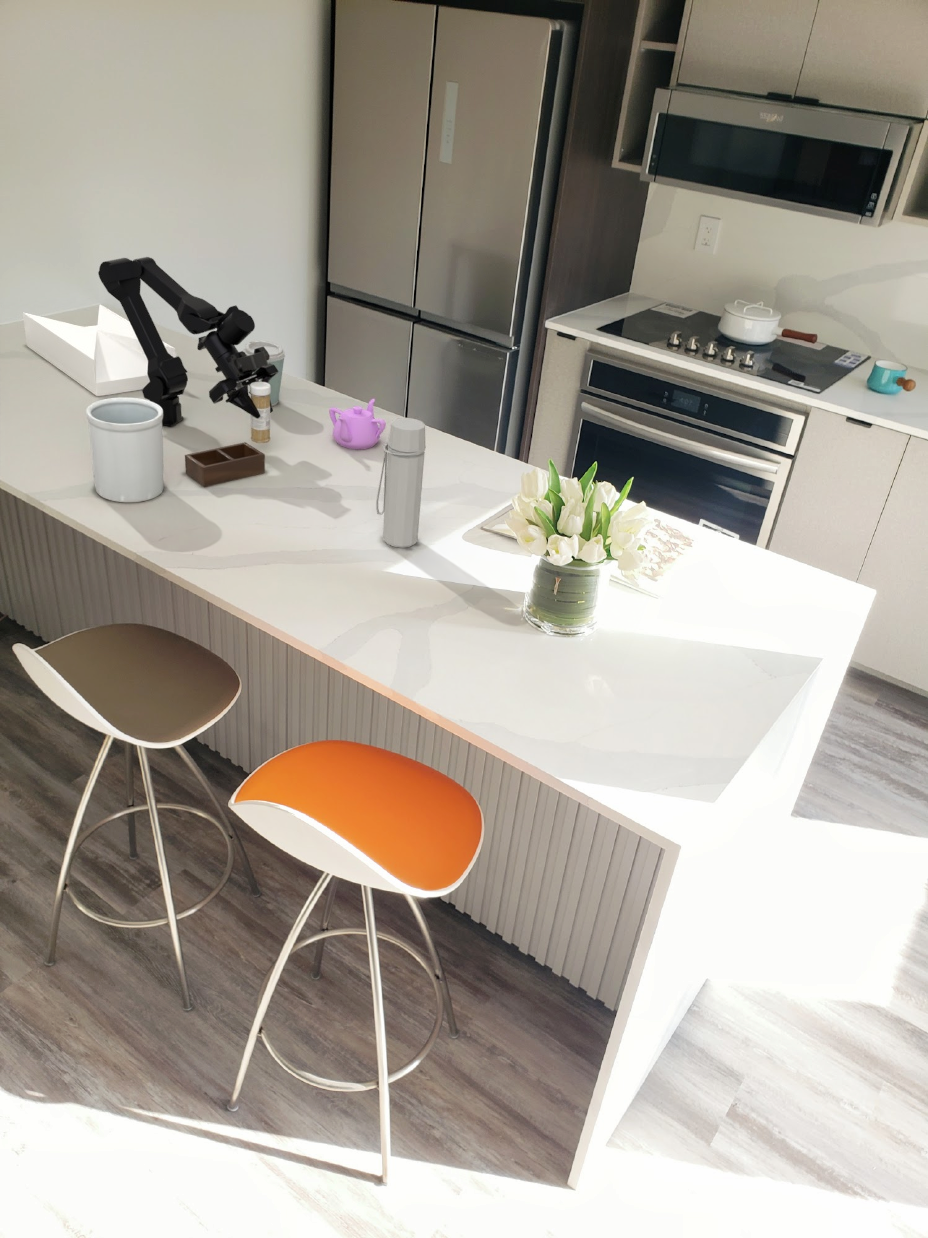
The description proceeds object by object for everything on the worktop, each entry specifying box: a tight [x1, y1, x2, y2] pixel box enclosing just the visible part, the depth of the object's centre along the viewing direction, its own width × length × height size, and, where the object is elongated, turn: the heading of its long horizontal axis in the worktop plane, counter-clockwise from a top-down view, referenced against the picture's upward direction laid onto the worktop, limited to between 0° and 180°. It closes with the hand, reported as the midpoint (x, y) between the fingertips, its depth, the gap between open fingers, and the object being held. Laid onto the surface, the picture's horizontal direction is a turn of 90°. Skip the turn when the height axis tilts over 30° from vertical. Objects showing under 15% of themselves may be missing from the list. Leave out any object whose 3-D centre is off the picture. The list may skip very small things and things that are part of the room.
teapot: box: [328, 398, 387, 450], centre depth 245 cm, size 12×14×9 cm
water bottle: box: [375, 417, 427, 549], centre depth 198 cm, size 9×8×25 cm
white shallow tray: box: [22, 304, 177, 397], centre depth 274 cm, size 45×22×10 cm, turn 42°
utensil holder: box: [85, 397, 165, 503], centre depth 208 cm, size 15×15×18 cm
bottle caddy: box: [184, 441, 266, 488], centre depth 223 cm, size 8×15×4 cm, turn 132°
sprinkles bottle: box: [249, 382, 271, 444], centre depth 231 cm, size 5×5×13 cm
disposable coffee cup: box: [242, 340, 286, 407], centre depth 260 cm, size 11×11×15 cm
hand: (265, 414), depth 231 cm, fingers closed on sprinkles bottle, 4 cm apart
